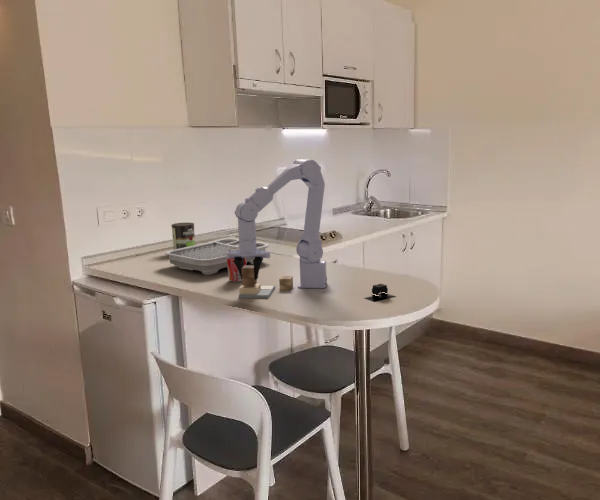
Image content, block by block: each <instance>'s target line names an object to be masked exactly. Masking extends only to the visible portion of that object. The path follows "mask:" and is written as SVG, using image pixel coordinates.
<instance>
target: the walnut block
mask: <svg viewBox="0 0 600 500" xmlns="http://www.w3.org/2000/svg"><path fill="white" fill-rule="evenodd" d="M241 269H242V282H241V286H254V285H255V284H258V279H257V280H255V277H254V264H250V265H249V264H248V265H244V266H243V267H242V268H241Z"/></svg>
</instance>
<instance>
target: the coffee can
mask: <svg viewBox="0 0 600 500" xmlns="http://www.w3.org/2000/svg"><path fill="white" fill-rule="evenodd" d="M170 226H171V230H172V244H173V246H172V247H173V250H175V249H180V248H184V247H189V246H194V245H196V237H195V236H196V235H195V223H194V222H178V223H177V222H176V223H171V225H170Z"/></svg>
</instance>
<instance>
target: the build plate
mask: <svg viewBox="0 0 600 500" xmlns="http://www.w3.org/2000/svg"><path fill="white" fill-rule="evenodd" d="M275 289H276V285H270V284H269V285H266V284H265V285H262V283H256V284H255V285H254V286H242V285H240V287H239V288H238V290H239V292H238V293H239V294H238V299H269V298H270V297H271V295H272V293H273V292H274V291H275Z"/></svg>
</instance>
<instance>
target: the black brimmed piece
mask: <svg viewBox="0 0 600 500" xmlns="http://www.w3.org/2000/svg"><path fill="white" fill-rule="evenodd" d="M388 289H389V288H388V285H387V284H384V283H378V284H373V285H372V288H371V296H367V297H364V298H363V299H364V300H368V301H371V302H373V303H377V302H381V301H385V300H389V299H392V298H393V299H394V298H397V295H392V294H389V293H388V292H389V291H388ZM382 292H385V293H388V294H385V293H382ZM372 293H373V294H376V295H379V296H375V295H372Z"/></svg>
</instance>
